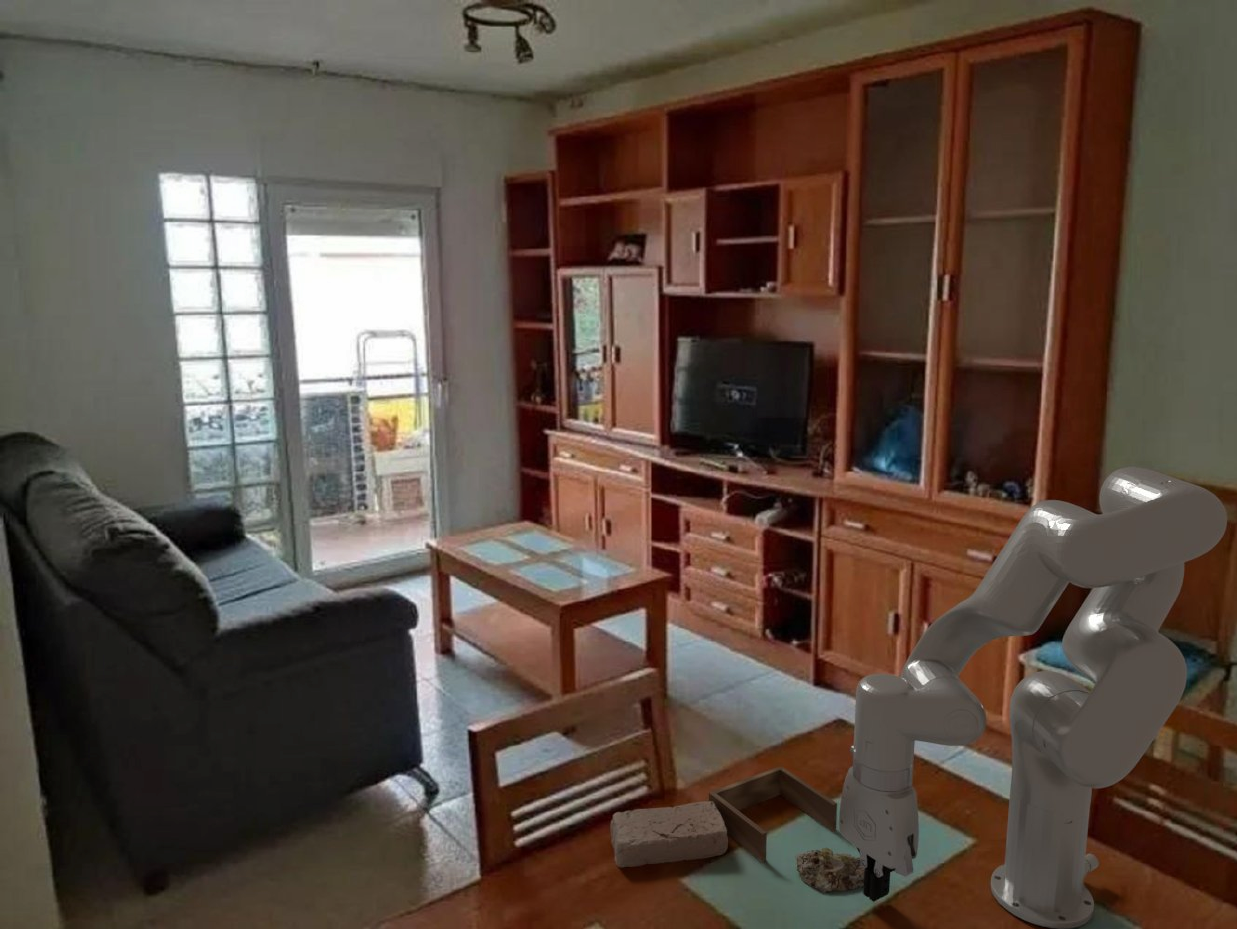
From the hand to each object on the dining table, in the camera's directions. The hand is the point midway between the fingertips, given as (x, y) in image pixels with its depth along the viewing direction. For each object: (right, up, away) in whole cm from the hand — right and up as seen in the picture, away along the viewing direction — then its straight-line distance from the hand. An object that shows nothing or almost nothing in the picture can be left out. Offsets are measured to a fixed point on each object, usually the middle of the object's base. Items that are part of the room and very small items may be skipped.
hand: (876, 894), depth 121 cm
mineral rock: (-4, -1, +6) cm, 8 cm away
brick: (-27, 0, +14) cm, 30 cm away
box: (-11, +2, +18) cm, 21 cm away
